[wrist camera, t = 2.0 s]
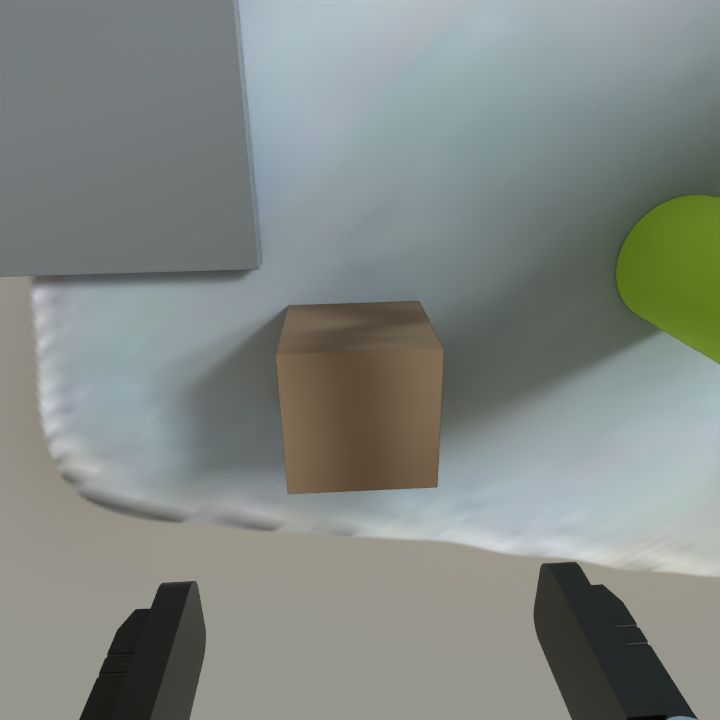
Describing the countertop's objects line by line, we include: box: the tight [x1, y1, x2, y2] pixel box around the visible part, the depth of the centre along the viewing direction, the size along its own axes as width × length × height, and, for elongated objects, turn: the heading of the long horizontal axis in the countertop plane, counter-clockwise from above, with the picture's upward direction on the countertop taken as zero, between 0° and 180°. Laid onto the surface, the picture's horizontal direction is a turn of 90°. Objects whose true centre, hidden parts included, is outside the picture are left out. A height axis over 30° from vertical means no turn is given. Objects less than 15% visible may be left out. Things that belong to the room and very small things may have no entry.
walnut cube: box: [276, 301, 444, 494], centre depth 23 cm, size 6×6×6 cm
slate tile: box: [0, 0, 262, 277], centre depth 20 cm, size 12×12×1 cm
